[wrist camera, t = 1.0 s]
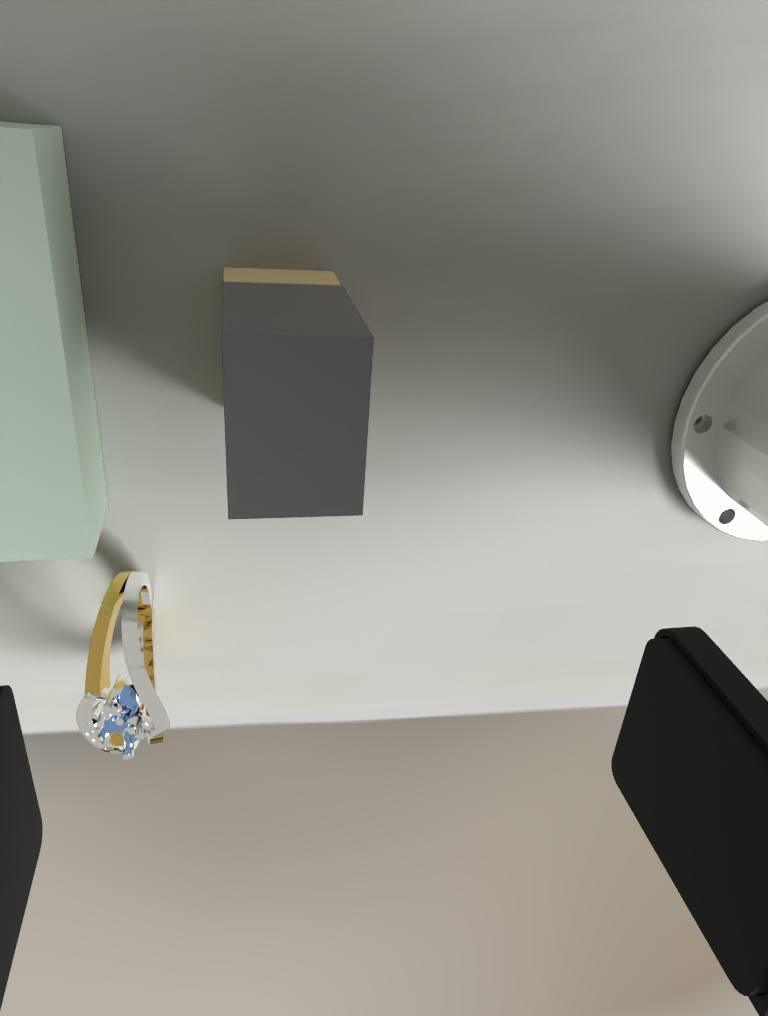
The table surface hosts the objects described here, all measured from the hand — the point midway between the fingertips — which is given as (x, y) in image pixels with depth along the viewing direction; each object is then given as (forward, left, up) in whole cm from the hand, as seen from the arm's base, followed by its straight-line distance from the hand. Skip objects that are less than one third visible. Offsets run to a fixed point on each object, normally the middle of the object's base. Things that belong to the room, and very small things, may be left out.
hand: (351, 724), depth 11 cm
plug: (0, 0, -20) cm, 20 cm away
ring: (+6, +12, -20) cm, 24 cm away
